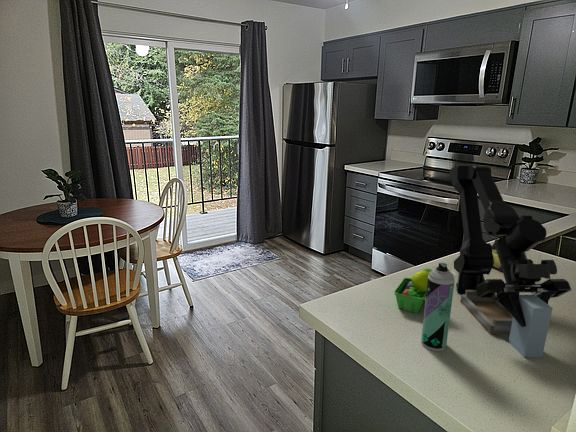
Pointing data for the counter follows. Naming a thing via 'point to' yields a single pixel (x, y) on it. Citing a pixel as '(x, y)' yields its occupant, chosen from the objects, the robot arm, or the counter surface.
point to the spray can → (437, 308)
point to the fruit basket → (412, 291)
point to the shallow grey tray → (488, 312)
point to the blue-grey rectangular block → (531, 326)
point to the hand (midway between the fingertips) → (533, 326)
